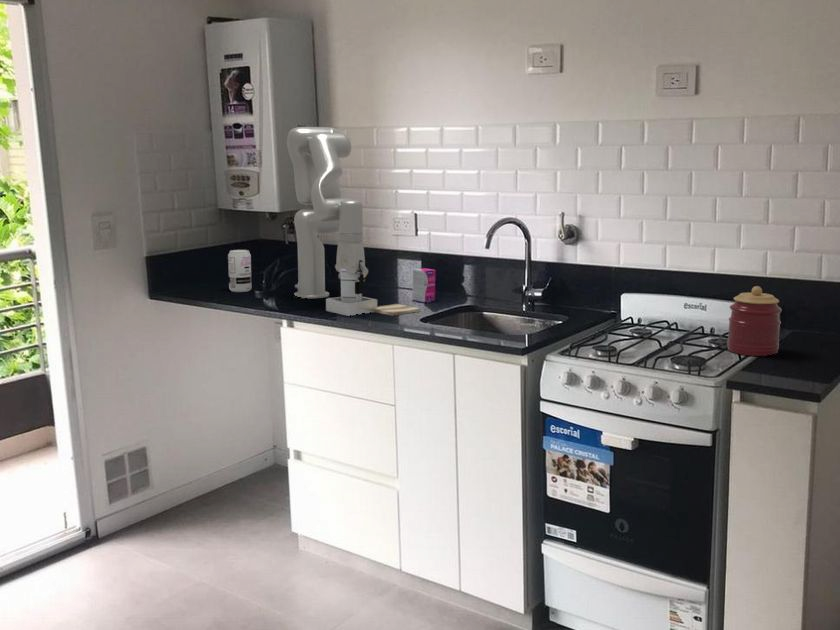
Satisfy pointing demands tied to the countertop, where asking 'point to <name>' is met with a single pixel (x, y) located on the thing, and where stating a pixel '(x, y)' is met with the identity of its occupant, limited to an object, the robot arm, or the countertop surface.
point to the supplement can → (239, 270)
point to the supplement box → (423, 285)
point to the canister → (754, 324)
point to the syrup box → (349, 288)
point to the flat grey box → (351, 306)
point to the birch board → (396, 309)
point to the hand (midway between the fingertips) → (351, 291)
